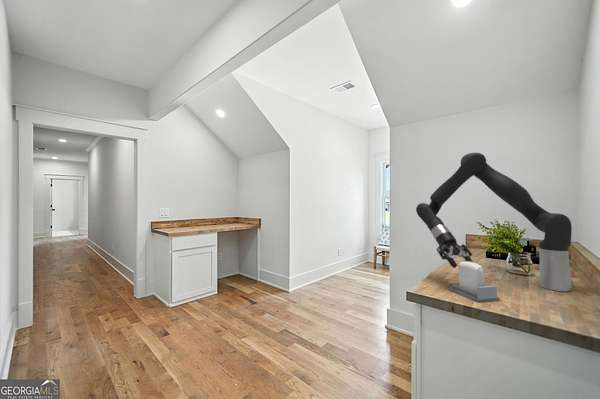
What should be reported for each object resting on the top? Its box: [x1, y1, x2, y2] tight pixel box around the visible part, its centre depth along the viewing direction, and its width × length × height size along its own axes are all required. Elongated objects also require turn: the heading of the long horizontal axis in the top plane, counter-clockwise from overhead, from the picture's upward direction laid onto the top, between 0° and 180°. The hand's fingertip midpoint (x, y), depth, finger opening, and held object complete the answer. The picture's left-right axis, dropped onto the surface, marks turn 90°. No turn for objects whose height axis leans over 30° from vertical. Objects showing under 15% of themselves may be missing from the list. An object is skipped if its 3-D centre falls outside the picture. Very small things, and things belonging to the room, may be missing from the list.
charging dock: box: [449, 284, 500, 303], centre depth 104 cm, size 10×14×6 cm
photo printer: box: [458, 261, 486, 293], centre depth 105 cm, size 10×4×12 cm, turn 12°
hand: (463, 266), depth 108 cm, fingers open, 8 cm apart
